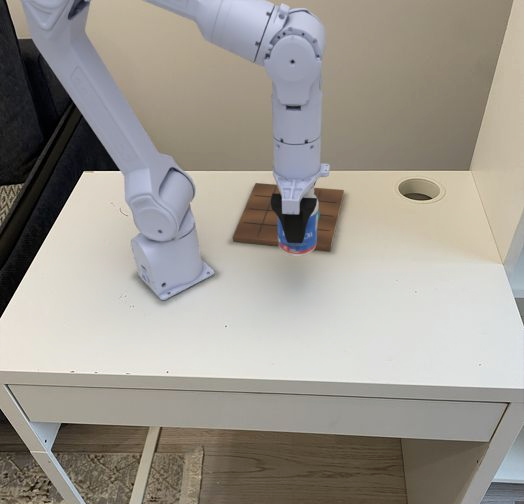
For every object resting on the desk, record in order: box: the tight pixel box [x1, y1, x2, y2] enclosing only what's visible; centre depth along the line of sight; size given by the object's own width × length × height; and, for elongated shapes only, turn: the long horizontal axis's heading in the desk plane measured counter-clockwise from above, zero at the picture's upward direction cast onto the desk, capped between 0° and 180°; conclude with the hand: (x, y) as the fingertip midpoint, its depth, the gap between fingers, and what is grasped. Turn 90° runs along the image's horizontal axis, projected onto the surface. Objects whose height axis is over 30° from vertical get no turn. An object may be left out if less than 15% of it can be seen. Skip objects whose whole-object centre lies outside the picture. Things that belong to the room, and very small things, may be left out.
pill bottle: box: [278, 184, 318, 257], centre depth 73 cm, size 6×5×10 cm
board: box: [232, 182, 345, 252], centre depth 92 cm, size 16×16×1 cm
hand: (297, 228), depth 74 cm, fingers closed on pill bottle, 5 cm apart
